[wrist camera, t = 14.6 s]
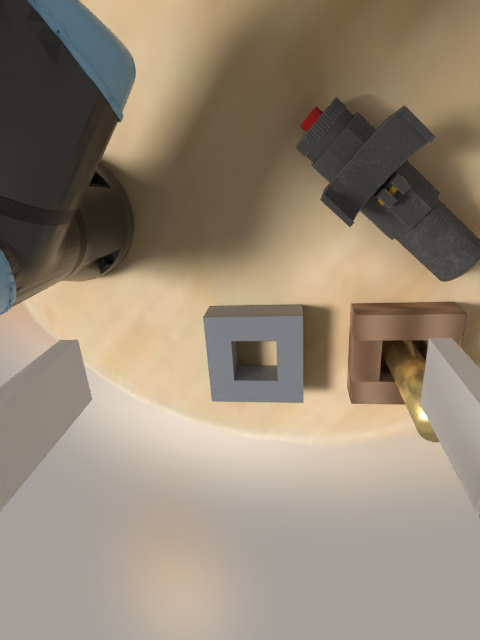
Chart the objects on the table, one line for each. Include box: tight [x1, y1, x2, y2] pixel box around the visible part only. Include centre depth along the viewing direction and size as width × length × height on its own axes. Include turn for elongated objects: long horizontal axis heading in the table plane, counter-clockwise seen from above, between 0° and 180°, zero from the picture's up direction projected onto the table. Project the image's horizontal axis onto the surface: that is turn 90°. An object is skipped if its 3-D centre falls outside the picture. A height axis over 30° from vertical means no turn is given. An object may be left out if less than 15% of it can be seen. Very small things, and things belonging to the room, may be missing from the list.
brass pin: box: [382, 340, 440, 442], centre depth 43 cm, size 4×4×16 cm
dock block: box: [347, 302, 467, 404], centre depth 49 cm, size 12×12×4 cm
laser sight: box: [296, 97, 480, 281], centre depth 39 cm, size 10×22×10 cm, turn 50°
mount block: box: [203, 305, 303, 403], centre depth 51 cm, size 12×12×4 cm
